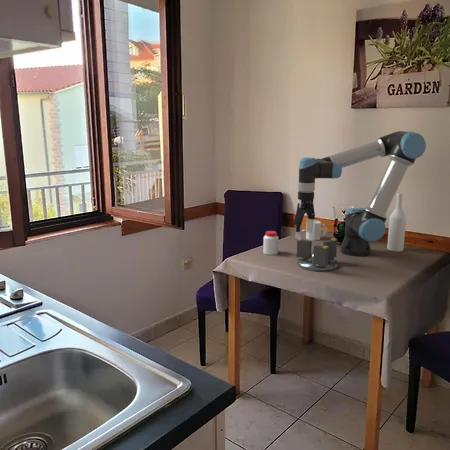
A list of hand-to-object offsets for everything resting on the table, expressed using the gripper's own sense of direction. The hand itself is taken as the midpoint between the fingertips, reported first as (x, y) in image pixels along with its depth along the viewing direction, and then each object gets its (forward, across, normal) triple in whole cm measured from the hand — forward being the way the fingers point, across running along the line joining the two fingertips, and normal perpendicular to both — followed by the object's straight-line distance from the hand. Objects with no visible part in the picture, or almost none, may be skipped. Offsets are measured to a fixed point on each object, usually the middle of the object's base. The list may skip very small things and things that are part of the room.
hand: (303, 235), depth 217 cm
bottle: (+13, -45, +33) cm, 58 cm away
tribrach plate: (+13, 0, +8) cm, 15 cm away
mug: (+14, -45, -10) cm, 48 cm away
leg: (+12, +6, +11) cm, 17 cm away
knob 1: (+12, 0, 0) cm, 12 cm away
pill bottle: (+14, -6, -20) cm, 25 cm away
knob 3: (+12, -6, +11) cm, 17 cm away
